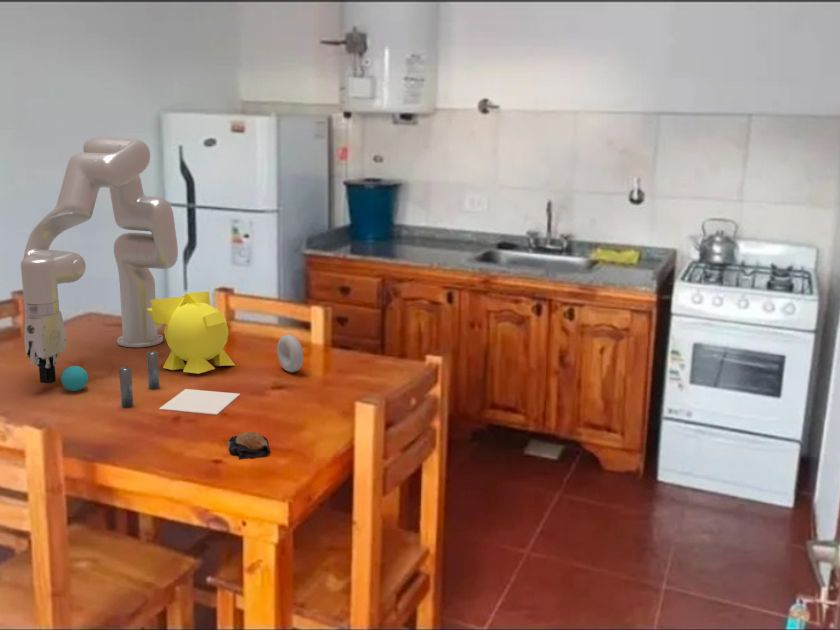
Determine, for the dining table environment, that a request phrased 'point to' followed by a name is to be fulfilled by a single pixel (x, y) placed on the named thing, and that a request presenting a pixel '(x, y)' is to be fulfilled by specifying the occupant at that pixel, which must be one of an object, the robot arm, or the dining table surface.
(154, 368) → the post
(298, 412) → the dining table surface
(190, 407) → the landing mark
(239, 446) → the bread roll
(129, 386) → the post
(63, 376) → the ball
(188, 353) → the piggy bank
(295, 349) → the donut
